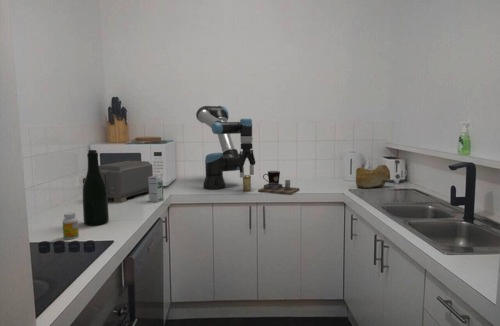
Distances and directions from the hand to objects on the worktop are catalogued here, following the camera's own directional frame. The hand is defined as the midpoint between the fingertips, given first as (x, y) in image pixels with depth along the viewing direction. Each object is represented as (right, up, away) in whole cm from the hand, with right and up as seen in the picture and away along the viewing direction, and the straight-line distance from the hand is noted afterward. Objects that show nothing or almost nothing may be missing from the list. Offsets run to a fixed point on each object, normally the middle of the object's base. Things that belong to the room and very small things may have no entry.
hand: (247, 176), depth 236 cm
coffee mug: (+17, -8, +20) cm, 27 cm away
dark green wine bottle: (-67, -19, -70) cm, 99 cm away
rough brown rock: (+84, -8, +14) cm, 85 cm away
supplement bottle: (-69, -21, -91) cm, 116 cm away
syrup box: (-52, -14, -26) cm, 59 cm away
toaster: (-74, -13, -14) cm, 76 cm away
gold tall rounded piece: (0, -10, +1) cm, 10 cm away
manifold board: (+20, -10, 0) cm, 23 cm away
